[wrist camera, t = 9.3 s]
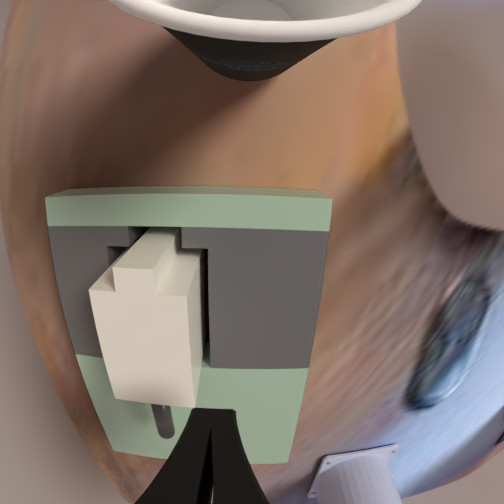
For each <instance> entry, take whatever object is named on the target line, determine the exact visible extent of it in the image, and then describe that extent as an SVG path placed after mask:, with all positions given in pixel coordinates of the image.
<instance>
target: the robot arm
mask: <svg viewBox="0 0 504 504" xmlns="http://www.w3.org/2000/svg"><path fill="white" fill-rule="evenodd" d="M398 448H399V446H398V444H393V445H388V446H384V447H379V448H373V449H368V450H362V451H356V452H350V453H343V454H336V455H328V456H325V457H324V458H323V459H322V462H321V464H320V467H319V469H318V472H317V474H316V476H315V479H314V481H313V483H312V486H311V488H310V490H309V492H308V494H307V496H308V498H317V503H318V504H402V501H401V498H400V495H399V493H398V490H397V487H396V485H395V482H394V480H393V477H392V474H391V472H390V469H389V467H388V464H389V462H390V461H391V459H392V458H393V456H394V455H395V453H396V452H397V450H398ZM212 491H213V504H269V502H268V500H267V498H266V497H265V495H264V493H263V491H262V489H261V487H260V485H259V483H258V481H257V479H256V477H255V475H254V473H253V471H252V468H251V466H250V463H249V461H248V458H247V456H246V453H245V450H244V447H243V444H242V441H241V437H240V434H239V430H238V425H237V418H236V411H235V410H233V409H215V408H193V409H192V410H191V413H190V416H189V418H188V421H187V423H186V425H185V427H184V430H183V432H182V434H181V436H180V438H179V440H178V441H177V443H176V445H175V447H174V449H173V450H172V452H171V454H170V456H169V457H168V459H167V461H166V462H165V464H164V465H163V467H162V468H161V470H160V471H159V473H158V474H157V475H156V477H155V478H154V480H153V481H152V483H151V484H150V485H149V487H148V488H147V489H146V490H145V492H144V493H143V494H142V495H141V496H140V498H139V499H138V500H137V501H136V502H135V503H134V504H211V498H212Z"/></svg>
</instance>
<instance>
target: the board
mask: <svg viewBox="0 0 504 504" xmlns="http://www.w3.org/2000/svg"><path fill="white" fill-rule="evenodd" d="M332 200H333V199H331V198H330V197H328V196H327V195H325V194H324V193H322V192H320V191H314V190H298V189H280V188H257V187H223V186H134V187H102V188H80V189H67V190H64V191H61V192H58V193H56V194H53V195H50V196H47V197H45V204H46V214H47V223H48V231H49V239H50V246H51V252H52V258H53V264H54V269H55V275H56V280H57V285H58V290H59V294H60V299H61V303H62V307H63V311H64V315H65V319H66V323H67V327H68V330H69V334H70V338H71V341H72V344H73V348H74V351H75V354H76V357H77V360H78V364H79V367H80V370H81V372H82V375H83V378H84V381H85V384H86V387H87V389H88V392H89V395H90V397H91V400H92V402H93V405H94V407H95V410H96V412H97V415H98V417H99V419H100V422H101V424H102V426H103V429H104V431H105V433H106V435H107V437H108V440H109V442H110V444H111V446H112V448H113V450H114V451H118V452H123V453H129V454H134V455H140V456H147V457H154V458H161V459H168V457H169V456H170V454H171V452H172V450H173V449H174V447H175V445H176V443H177V441H178V440H179V438H180V436H181V434H182V432H183V430H184V427H185V425H186V423H187V421H188V418H189V416H190V413H191V410H192V409H193V408H190V407H178V406H170V407H171V413H172V418H173V423H174V428H175V434H174V436H173V437H172V438H170V439H164V438H162V437H160V435H159V434H158V431H157V427H156V423H155V419H154V415H153V411H152V407H151V404H150V403H142V402H135V401H128V400H122V399H115V396H114V393H113V390H112V386H111V383H110V380H109V376H108V373H107V369H106V366H105V362H104V358H103V354H102V350H101V346H100V342H99V338H98V334H97V329H96V325H95V320H94V315H93V311H92V306H91V300H90V295H89V289H90V288H91V286H92V285H93V284H94V283H95V282H96V281H97V280H98V279H99V278H100V277H101V276H102V274H103V273H104V272H105V271H106V270H107V269H108V268H109V267H110V266H111V265H112V264H113V263H114V262H115V261H116V260H117V259H118V257H119V256H120V255H121V254H122V253H123V252H124V251H125V246H126V247H129V246H130V245H131V244H132V243H133V242H134V241H135V240H136V239H137V238H138V237H139V236H140V235H141V234H142V233H143V232H144V226H164V227H182V248H203V249H208V292H209V331H210V342H205V344H204V350H203V357H202V364H201V370H200V377H199V384H198V391H197V398H196V405H195V408H215V409H233V410H235V411H236V418H237V425H238V430H239V434H240V437H241V441H242V444H243V447H244V450H245V453H246V456H247V458H248V461H249V463H250V464H272V463H288V459H289V455H290V451H291V447H292V443H293V438H294V434H295V430H296V426H297V421H298V417H299V412H300V408H301V403H302V398H303V394H304V389H305V384H306V379H307V374H308V369H309V363H310V358H311V352H312V347H313V341H314V335H315V330H316V324H317V317H318V311H319V305H320V298H321V291H322V284H323V277H324V270H325V262H326V254H327V246H328V238H329V229H330V220H331V210H332Z"/></svg>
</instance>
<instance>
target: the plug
mask: <svg viewBox="0 0 504 504" xmlns="http://www.w3.org/2000/svg"><path fill="white" fill-rule="evenodd" d="M89 295H90V300H91V306H92V311H93V315H94V320H95V325H96V329H97V334H98V338H99V342H100V346H101V350H102V354H103V358H104V362H105V366H106V369H107V373H108V376H109V380H110V383H111V386H112V390H113V393H114V396H115V399H122V400H128V401H135V402H142V403H150V404H151V407H152V411H153V415H154V419H155V423H156V427H157V431H158V434H159V435H160V437H162V438H164V439H170V438H172V437H173V436H174V434H175V428H174V423H173V418H172V413H171V407H170V406H178V407H190V408H195V405H196V398H197V391H198V384H199V377H200V370H201V364H202V357H203V350H204V344H205V338H206V334H205V291H204V249H203V248H182V227H164V226H151V228H150V229H149V230H148V231H147V232H146V233H145V234H144V235H143V236H142V237H141V238H140V239H139V240H138V241H137V242H133V243H132V244H131V245H130V246H129V247H128V248H127V249H126V250H125V251H124V252H123V253H122V254H121V255H120V256H119V257H118V259H117V260H116V261H115V262H114V263H113V264H112V265H111V266H110V267H109V268H108V269H107V270H106V271H105V272H104V273H103V274H102V276H101V277H100V278H99V279H98V280H97V281H96V282H95V283H94V284H93V285H92V286H91V288H90V289H89Z"/></svg>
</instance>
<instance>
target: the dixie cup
mask: <svg viewBox="0 0 504 504" xmlns="http://www.w3.org/2000/svg"><path fill="white" fill-rule="evenodd" d="M108 1H109V2H110V3H112V4H114V5H115V6H117V7H118V8H120V9H122V10H123V11H125V12H127V13H129V14H132V15H134V16H136V17H138V18H140V19H143V20H146V21H148V22H151V23H153V24H157V25H160V26H162V27H164V28H165V29H166V30H167V31H168V32H170V33H171V34H172V35H173V36H174V37H176V38H177V39H178V40H179V41H180V42H181V43H183V44H184V45H185V46H186V47H187V48H188V49H189V50H191V51H192V52H193V53H194V54H195V55H196V56H197V57H199V58H200V59H201V60H202V61H203V62H204V63H205V64H206V65H207V66H208V67H210V68H211V69H212V70H214V71H215V72H217V73H219V74H221V75H223V76H225V77H228V78H231V79H235V80H241V81H259V80H265V79H269V78H272V77H274V76H277V75H279V74H281V73H283V72H284V71H286V70H287V69H289V68H290V67H292V66H293V65H295V64H297V63H298V62H300V61H301V60H303V59H304V58H306V57H307V56H309V55H310V54H312V53H314V52H315V51H317V50H318V49H320V48H322V47H323V46H325V45H327V44H328V43H330V42H332V41H333V40H335V39H337V38H339V37H346V36H351V35H355V34H359V33H364V32H368V31H370V30H374V29H377V28H380V27H383V26H385V25H387V24H389V23H392V22H394V21H396V20H398V19H399V18H401V17H403V16H404V15H406V14H408V13H409V12H410V11H411V10H412V9H414V8H415V7H416V6H417V5H418V4H419V3H420V2H421V1H422V0H108Z"/></svg>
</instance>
